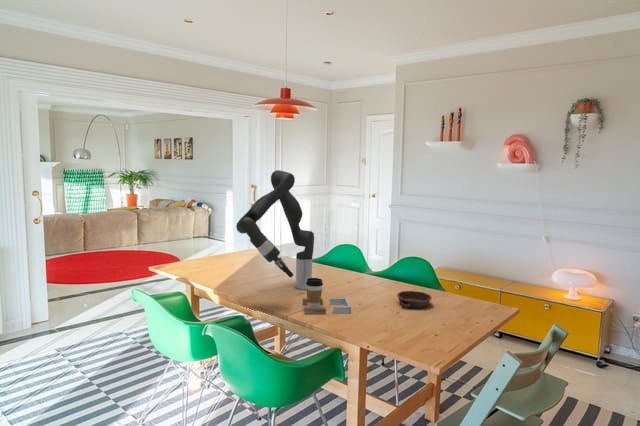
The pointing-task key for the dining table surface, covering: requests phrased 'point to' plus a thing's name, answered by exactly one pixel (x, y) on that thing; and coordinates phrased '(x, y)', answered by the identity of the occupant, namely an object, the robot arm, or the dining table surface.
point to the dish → (414, 299)
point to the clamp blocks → (313, 308)
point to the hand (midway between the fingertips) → (292, 276)
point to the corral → (341, 309)
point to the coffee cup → (314, 291)
